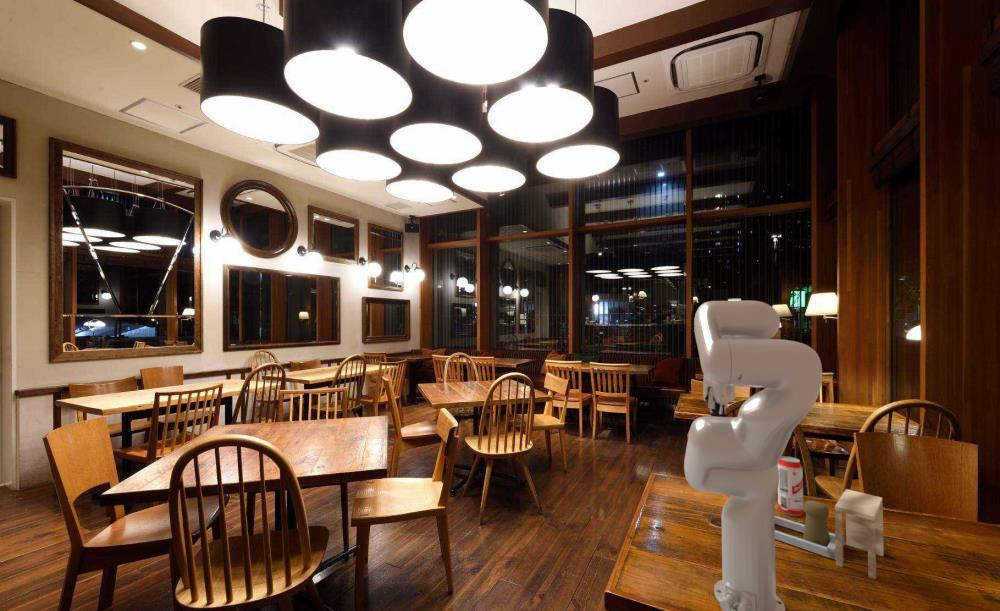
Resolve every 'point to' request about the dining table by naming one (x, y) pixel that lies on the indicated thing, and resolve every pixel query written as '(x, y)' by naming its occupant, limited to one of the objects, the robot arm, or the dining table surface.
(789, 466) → the beer can
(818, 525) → the cork
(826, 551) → the sled
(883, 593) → the dining table surface
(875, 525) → the stool
